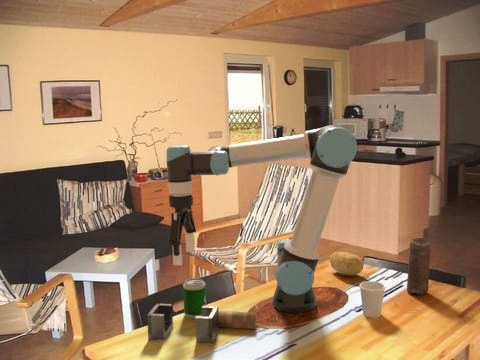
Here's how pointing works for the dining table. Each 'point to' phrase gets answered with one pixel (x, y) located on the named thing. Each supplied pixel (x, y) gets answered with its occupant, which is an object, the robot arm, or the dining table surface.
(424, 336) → the dining table surface
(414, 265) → the candle
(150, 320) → the bracket
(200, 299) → the soda can
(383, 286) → the dixie cup
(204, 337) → the bracket
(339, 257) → the potato
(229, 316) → the brown wooden log
